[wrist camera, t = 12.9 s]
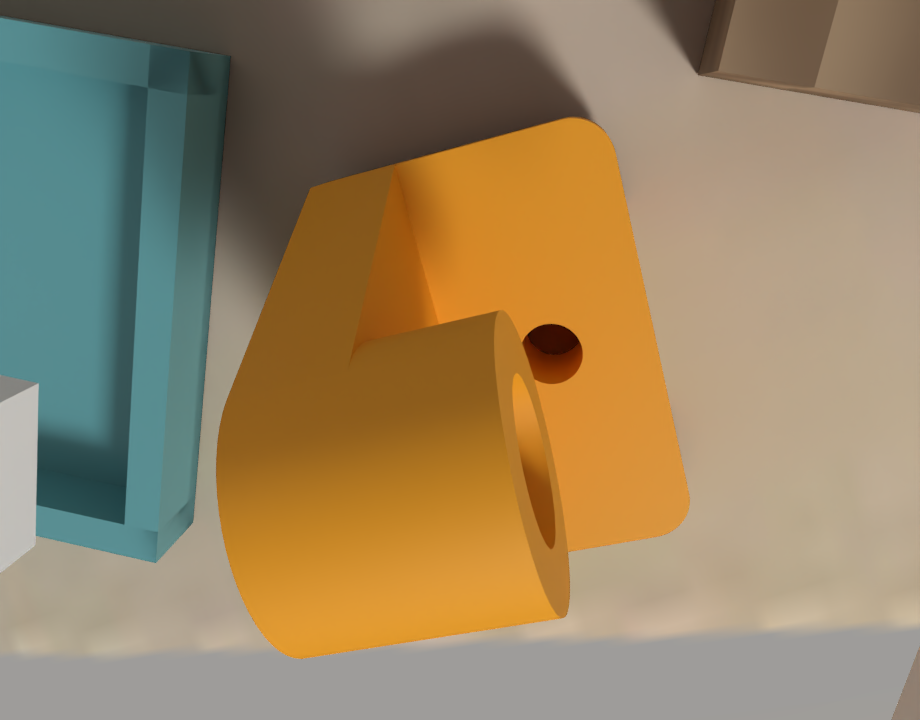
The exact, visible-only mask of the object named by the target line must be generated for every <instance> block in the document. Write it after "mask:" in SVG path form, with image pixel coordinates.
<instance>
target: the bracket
mask: <svg viewBox="0 0 920 720" xmlns="http://www.w3.org/2000/svg"><path fill="white" fill-rule="evenodd" d="M544 324H558V325H561V326H564V327H566V328H568V329H569V330H571V331H572V332H573V333H574V334H575V335H576V336H577V337H578V339H579V342H578V344H577V345H576V346H575V347H574V348H573V349H572V350H570V351H568V352H566V353H563V354H559V355H551V354H546V353H543V352H541V351H540V350H538V349H537V348H536V347H534V346H533V344H532V343H531V342H530V340H529V338H528V335H527V334H528V333H529V332H530V331H531V330H533V329H534V328H536V327H538V326H541V325H544ZM216 481H217V498H218V508H219V516H220V522H221V528H222V534H223V538H224V543H225V548H226V552H227V556H228V559H229V563H230V567H231V570H232V573H233V576H234V579H235V582H236V585H237V587H238V590H239V592H240V594H241V597H242V599H243V601H244V603H245V606H246V608H247V610H248V612H249V614H250V615H251V617H252V619H253V620H254V622H255V624H256V626H257V627H258V628H259V630H260V631H261V633H262V634H263V635H264V637H265V638H266V639H267V640H268V641H269V642H270V643H271V644H272V645H273V646H274V647H275V648H276V649H278V650H279V651H280V652H282V653H284V654H285V655H287V656H290V657H293V658H299V659H303V658H310V657H316V656H323V655H329V654H336V653H342V652H348V651H355V650H361V649H368V648H374V647H381V646H387V645H393V644H400V643H406V642H413V641H419V640H426V639H432V638H438V637H445V636H451V635H458V634H464V633H471V632H477V631H483V630H490V629H496V628H503V627H509V626H516V625H522V624H528V623H535V622H541V621H548V620H554V619H561V618H564V617H565V616H566V615H567V612H568V607H569V599H570V575H569V559H568V552H571V551H576V550H582V549H588V548H594V547H600V546H606V545H611V544H617V543H623V542H629V541H635V540H641V539H647V538H652V537H658V536H662V535H665V534H667V533H669V532H671V531H673V530H674V529H676V528H677V527H678V526H679V525H680V524H681V523H682V521H683V520H684V519H685V517H686V515H687V513H688V510H689V504H690V497H689V491H688V487H687V482H686V477H685V473H684V468H683V464H682V459H681V454H680V450H679V445H678V440H677V436H676V431H675V426H674V422H673V417H672V413H671V408H670V403H669V399H668V394H667V389H666V385H665V380H664V375H663V371H662V366H661V362H660V357H659V352H658V348H657V343H656V338H655V334H654V329H653V324H652V320H651V315H650V311H649V306H648V301H647V297H646V292H645V287H644V283H643V278H642V273H641V269H640V264H639V259H638V255H637V250H636V246H635V241H634V236H633V232H632V227H631V222H630V218H629V213H628V208H627V204H626V199H625V195H624V190H623V185H622V181H621V176H620V171H619V167H618V162H617V157H616V153H615V149H614V146H613V144H612V142H611V140H610V138H609V137H608V135H607V134H606V132H605V131H604V130H603V129H602V128H601V127H600V126H599V125H598V124H596V123H595V122H593V121H591V120H589V119H586V118H582V117H565V118H561V119H558V120H554V121H550V122H547V123H543V124H539V125H535V126H532V127H528V128H524V129H521V130H517V131H513V132H510V133H506V134H502V135H499V136H495V137H491V138H488V139H484V140H480V141H477V142H473V143H469V144H466V145H462V146H458V147H455V148H451V149H447V150H444V151H440V152H436V153H433V154H429V155H425V156H422V157H418V158H414V159H411V160H407V161H403V162H399V163H396V164H392V165H388V166H385V167H381V168H377V169H374V170H370V171H366V172H363V173H359V174H355V175H352V176H348V177H344V178H341V179H337V180H333V181H330V182H327V183H324V184H321V185H318V186H315V187H312V188H310V190H309V193H308V195H307V198H306V200H305V203H304V205H303V208H302V210H301V213H300V215H299V218H298V221H297V223H296V226H295V228H294V231H293V233H292V236H291V238H290V241H289V243H288V246H287V248H286V251H285V254H284V256H283V259H282V261H281V264H280V266H279V269H278V271H277V274H276V276H275V279H274V281H273V284H272V287H271V289H270V292H269V294H268V297H267V299H266V302H265V304H264V307H263V309H262V312H261V314H260V317H259V320H258V322H257V325H256V327H255V330H254V332H253V335H252V337H251V340H250V342H249V345H248V347H247V350H246V353H245V355H244V358H243V360H242V363H241V365H240V368H239V370H238V373H237V375H236V378H235V380H234V383H233V386H232V388H231V391H230V393H229V396H228V398H227V401H226V404H225V407H224V410H223V414H222V418H221V423H220V428H219V435H218V443H217V457H216Z"/></svg>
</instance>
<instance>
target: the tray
mask: <svg viewBox="0 0 920 720" xmlns="http://www.w3.org/2000/svg"><path fill="white" fill-rule="evenodd" d="M230 58H231V56H226V55H221V54H215V53H210V52H204V51H198V50H193V49H187V48H181V47H176V46H170V45H164V44H159V43H153V42H147V41H142V40H136V39H131V38H125V37H119V36H114V35H108V34H102V33H97V32H91V31H85V30H80V29H74V28H68V27H63V26H57V25H52V24H46V23H40V22H35V21H29V20H23V19H18V18H12V17H6V16H1V15H0V375H3V376H7V377H12V378H17V379H21V380H26V381H30V382H35V383H39V389H38V440H37V491H36V536H40V537H44V538H48V539H53V540H57V541H62V542H66V543H70V544H75V545H79V546H84V547H88V548H92V549H97V550H101V551H106V552H110V553H114V554H119V555H123V556H127V557H132V558H136V559H141V560H145V561H149V562H154V563H156V562H157V561H158V560H159V559H160V558H161V557H162V556H163V555H164V554H165V553H166V551H167V550H168V549H169V548H170V547H171V546H172V545H173V544H174V543H175V542H176V541H177V539H178V538H179V537H180V536H181V535H182V534H183V533H184V532H185V531H186V530H187V529H188V528H189V526H190V525H191V524H192V523H193V517H194V504H195V492H196V479H197V467H198V455H199V442H200V430H201V417H202V405H203V393H204V380H205V368H206V355H207V343H208V331H209V318H210V306H211V293H212V281H213V268H214V256H215V244H216V231H217V219H218V206H219V194H220V182H221V169H222V157H223V144H224V132H225V120H226V107H227V95H228V82H229V70H230Z"/></svg>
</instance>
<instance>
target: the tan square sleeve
mask: <svg viewBox="0 0 920 720" xmlns="http://www.w3.org/2000/svg"><path fill="white" fill-rule="evenodd" d="M698 75H700V76H706V77H712V78H718V79H724V80H730V81H736V82H741V83H747V84H753V85H759V86H765V87H771V88H776V89H782V90H788V91H794V92H800V93H806V94H811V95H817V96H823V97H829V98H835V99H841V100H846V101H852V102H858V103H864V104H870V105H876V106H881V107H887V108H893V109H899V110H905V111H911V112H916V113H920V0H716V1H715V5H714V9H713V14H712V18H711V22H710V26H709V30H708V35H707V39H706V43H705V47H704V51H703V56H702V60H701V64H700V68H699V72H698Z"/></svg>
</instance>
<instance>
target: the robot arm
mask: <svg viewBox="0 0 920 720" xmlns="http://www.w3.org/2000/svg"><path fill="white" fill-rule="evenodd" d="M38 389H39V383H35V382H30V381H26V380H21V379H17V378H12V377H7V376H3V375H0V573H1V572H2V571H3V570H5V569H6V568H7V567H9V566H10V565H11V564H12V563H14V562H15V561H16V560H17V559H19V558H20V557H21V556H22V555H24V554H25V553H26V552H28V551H29V550H30V549H31V548H33V547H34V546H35V541H36V491H37V440H38ZM892 720H920V647H919V650H918V652H917V655H916V658H915V660H914V663H913V665H912V668H911V670H910V673H909V676H908V678H907V681H906V683H905V686H904V689H903V691H902V694H901V696H900V699H899V702H898V704H897V707H896V709H895V712H894V714H893V717H892Z"/></svg>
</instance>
